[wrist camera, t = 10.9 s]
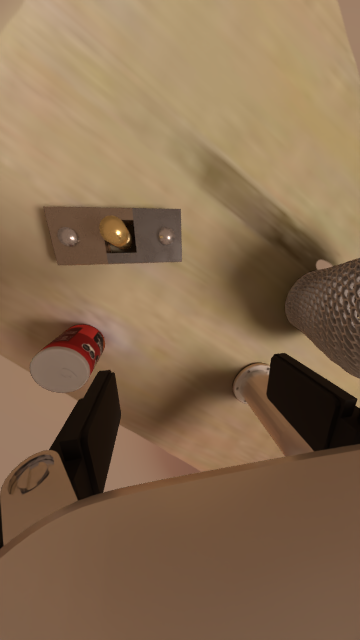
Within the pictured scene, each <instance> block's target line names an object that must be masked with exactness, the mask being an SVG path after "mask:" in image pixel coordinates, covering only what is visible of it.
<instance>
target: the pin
mask: <svg viewBox="0 0 360 640" xmlns="http://www.w3.org/2000/svg"><path fill="white" fill-rule="evenodd" d="M99 229H100V233H101V235H102V237H103V238H104V239H105V240H106V241H107V242H109V243H111V244H113V245H115V246H116V247H118V248H120V249H122V250H128V249H130V248H131V247H132V245H133V238H132V236H131V234H130V233H129V231H128V230H127V228H126V226H125V225H124V223H123V222H122V221H121V220H120V219H119V218H118V217H116V216H111V215H110V216H106V217H104V218H103V219H102V220H101V222H100V226H99Z"/></svg>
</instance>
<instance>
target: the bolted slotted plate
mask: <svg viewBox="0 0 360 640" xmlns="http://www.w3.org/2000/svg"><path fill="white" fill-rule="evenodd" d="M44 211H45V215H46V219H47V224H48V228H49V232H50V236H51V240H52V244H53V248H54V252H55V256H56V260H57V264H58V265H91V264H125V263H158V262H182V244H181V209H147V208H91V207H44ZM110 215H111V216H116V217H118V218H119V219H120V220H121V221H122V222H123V223H124V225H134V231H135V240H136V250H137V253H111V247H110V243H109V242H107V241H106V240H105V239H104V238H103V237H102V235H101V233H100V229H99V226H100V222H101V220H102V219H103V218H104V217H106V216H110Z"/></svg>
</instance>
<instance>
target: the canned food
mask: <svg viewBox="0 0 360 640" xmlns="http://www.w3.org/2000/svg"><path fill="white" fill-rule="evenodd" d="M104 348H105V341H104V337H103V335H102V333H101V332H100V331H99V330H98V329H96V328H94V327H92V326H90V325H75V326H73V327H70V328H69V329H68V330H66V331H65V332H64V333H62V334H61V335H60V336H59V337H57V338H56V339H55V340H53V341H52V342H51V343H50V344H48V345H47V346H46V347H44V348H43V349H42V350H41V351H40V352H38V353H37V354H36V355H35V357H34V358H33V359H32V361H31V363H30V373H31V376H32V378H33V379H34V380H35V382H36V383H37V384H39V385H40V386H41V387H43V388H45V389H47V390H50V391H53V392H58V393H68V392H73V391H75V390H78V389H79V388H81V387H82V386H83V385H84V384H85V383H86V382H87V380H88V378H89V377H90V375H91V373H92V371H93V369H94V367H95V366H96V364H97V362H98V360H99V358H100V356H101V354H102V352H103V350H104Z"/></svg>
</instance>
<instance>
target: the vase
mask: <svg viewBox="0 0 360 640" xmlns="http://www.w3.org/2000/svg"><path fill="white" fill-rule="evenodd" d="M352 288H354V289H352ZM354 299H355V300H354ZM285 313H286V316H287V319H288V321H289V322H290V323H291V324H292V325H293V326H295V327H296V328H298V329H299V330H300V331H301V332H303V333H304V334H305V335H306V336H307V337H308V338H309V339H310V340H311V341H312V342H313V343H314V344H315V345H316V347H318V348H319V349H320V350H321V351H322V352H323V353H324V354H325V355H326V356H327V357H328V358H329V359H330V360H331V361H333V362H334V363H336V364H338V365H339V366H340V367H341V368H343V369H344V370H345V371H346V372H348V373H349V374H351V375H353V376H355V377H357V378H360V322H359V320H360V319H358V318H357V317H359V318H360V258H358V259H355V260H352V261H348V262H346V263H343V264H340V265H336V266H333V267H330V268H327V269H322V270H315V271H311V272H309V273H307V274H305V275H303V276H302V277H301V278H300V279H298V280H297V281H296V283H295V284H294V285H293V286H292V288H291V289H290V291H289V293H288V296H287V299H286V303H285Z"/></svg>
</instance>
